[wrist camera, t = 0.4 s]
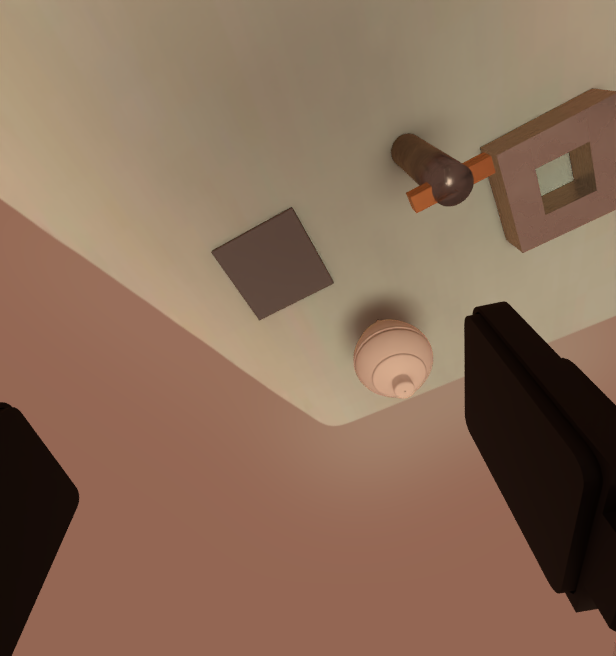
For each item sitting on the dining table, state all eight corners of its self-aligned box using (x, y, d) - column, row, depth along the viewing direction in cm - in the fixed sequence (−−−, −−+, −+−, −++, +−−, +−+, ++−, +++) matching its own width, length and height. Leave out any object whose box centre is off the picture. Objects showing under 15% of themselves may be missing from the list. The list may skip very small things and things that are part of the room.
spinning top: (422, 329, 50) (460, 400, 40) (362, 358, 51) (384, 434, 41) (394, 277, 46) (428, 342, 36) (331, 311, 48) (346, 382, 38)
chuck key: (371, 151, 39) (406, 187, 29) (430, 118, 38) (487, 144, 28) (383, 179, 40) (420, 223, 30) (440, 149, 39) (498, 183, 29)
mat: (211, 250, 43) (211, 252, 43) (291, 206, 41) (291, 208, 41) (259, 318, 47) (259, 320, 47) (333, 281, 46) (333, 283, 45)
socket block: (480, 147, 39) (496, 155, 36) (592, 88, 37) (619, 91, 34) (506, 239, 44) (522, 253, 41) (606, 191, 42) (631, 202, 39)
